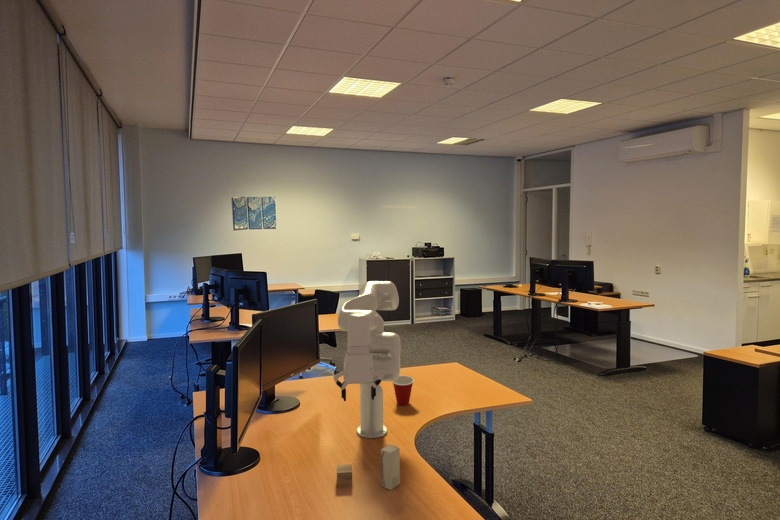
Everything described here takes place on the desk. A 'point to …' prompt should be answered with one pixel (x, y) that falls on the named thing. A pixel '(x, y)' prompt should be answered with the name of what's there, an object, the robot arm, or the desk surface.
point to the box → (390, 466)
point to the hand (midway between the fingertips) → (358, 399)
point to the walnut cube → (344, 475)
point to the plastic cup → (403, 389)
